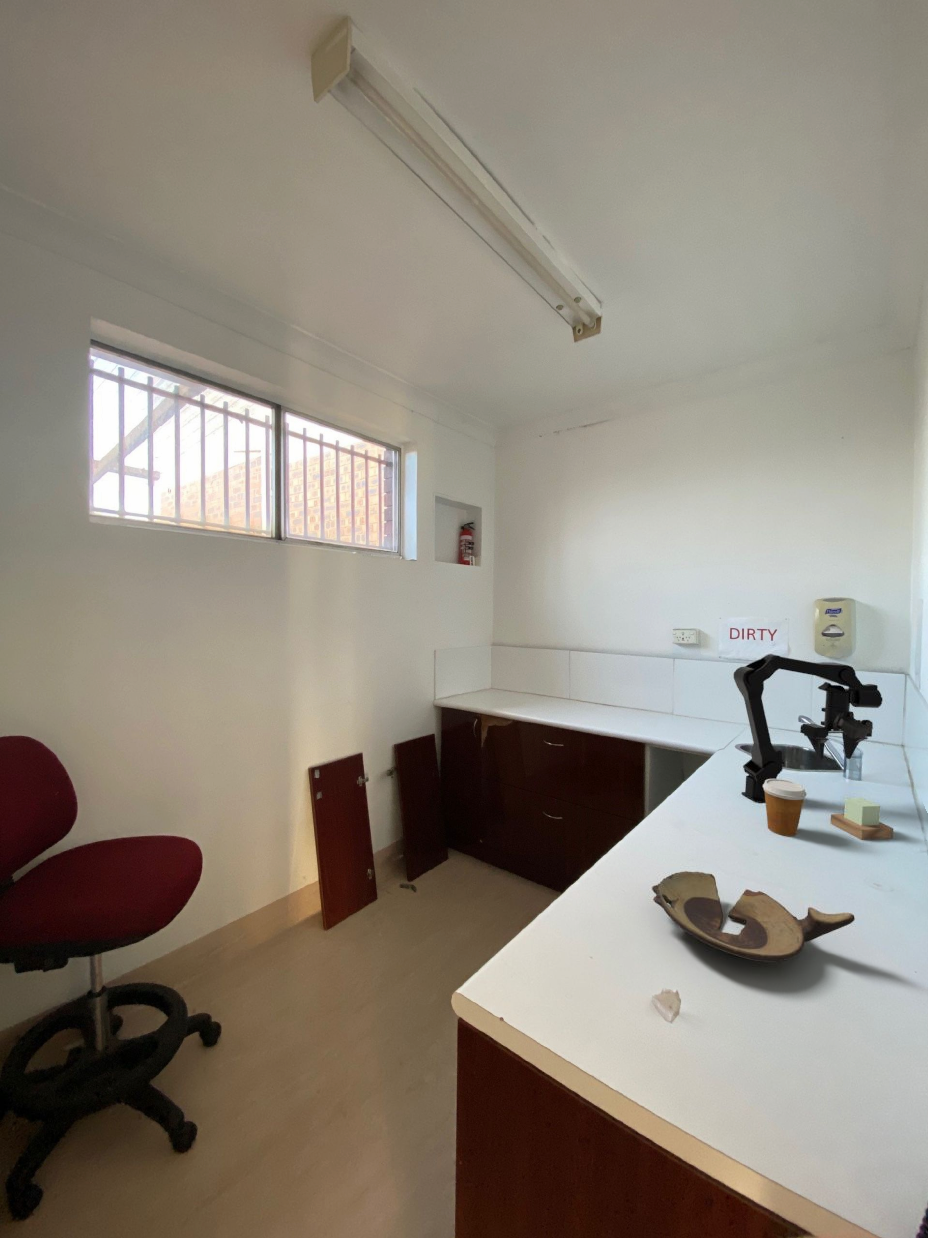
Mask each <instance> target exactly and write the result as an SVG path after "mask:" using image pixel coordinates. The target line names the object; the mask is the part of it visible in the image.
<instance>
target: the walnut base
mask: <svg viewBox="0 0 928 1238" xmlns="http://www.w3.org/2000/svg"><path fill="white" fill-rule="evenodd" d="M830 824H831V825H833V826H835V827H836V828H839V829H840V830H842V831H844V832H846V833H848V834H850V835H851V836H853V837H856V838H858V839H859V840H861V841H862V840H879V839H883V840H884V839H893V838H894V827H892V826H889V825H887V824H885V823H883V822H881V821H879V825H869V826H861V825H859V824H857V823H855V822H853V821H851V820H849V819H847V818H845V817H844V813H833V814H832V813H831V814H830Z"/></svg>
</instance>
